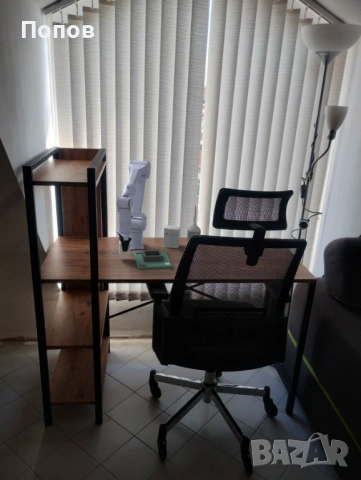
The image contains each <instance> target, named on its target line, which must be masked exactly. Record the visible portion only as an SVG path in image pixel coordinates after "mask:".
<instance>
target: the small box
mask: <svg viewBox="0 0 361 480" xmlns="http://www.w3.org/2000/svg"><path fill="white" fill-rule="evenodd" d="M180 243H181V226H179V225H165V226H164V228H163V245H162V246H163V248H171V249H179V247H180Z"/></svg>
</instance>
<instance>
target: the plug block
mask: <svg viewBox="0 0 361 480" xmlns="http://www.w3.org/2000/svg"><path fill="white" fill-rule="evenodd" d="M130 247H131V243H129V247H128V251H127V252H123V250H122V244H121V241H120V240H118V254H119V255H131V249H130Z"/></svg>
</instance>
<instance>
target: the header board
mask: <svg viewBox="0 0 361 480" xmlns="http://www.w3.org/2000/svg"><path fill="white" fill-rule="evenodd" d="M132 252H133V257H134V260H135V264H136V267H137V268H136V269H137V270H151V269H155V270H156V269H173V268H174V267H173V264H172V261H171V260H170V258H169V255H168V253H167V251H166V250H165V249H151V250H150V249H147V250H145V249H138V250H133V251H132Z"/></svg>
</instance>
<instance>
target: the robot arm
mask: <svg viewBox="0 0 361 480" xmlns="http://www.w3.org/2000/svg"><path fill="white" fill-rule="evenodd" d="M151 168H152V167H151V162H150V161H149V160H137V159H135V160H134V159H130V160H129V162H128V171H129V177H128V182H127V183H125V184H124V186H123V188H122V192H121V195H120V196H119V197H117V200H116V207H117V213H118V230H115V233H116V234H117V235H118V241H121V244H122V250H123V252H127V251H128V247H129V243H131V247H130V250H145V246H144V245H143V244H144V243H143V237H144V232H145V231H146V229H147V222H148V221H147V215H146V214H145V213H144V212H143V203H144V196H145V187H146V182H147V180H148V179H150V177H151Z"/></svg>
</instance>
